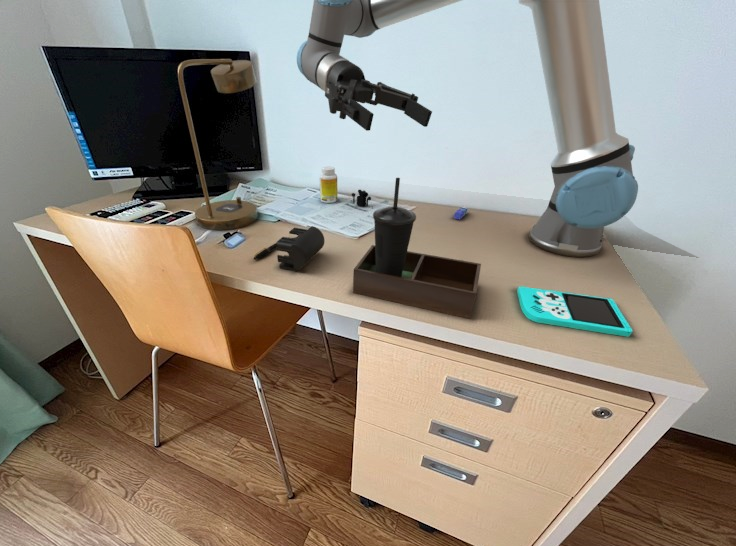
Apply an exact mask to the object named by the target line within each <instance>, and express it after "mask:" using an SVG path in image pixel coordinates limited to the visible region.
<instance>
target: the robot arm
mask: <svg viewBox="0 0 736 546" xmlns="http://www.w3.org/2000/svg"><path fill="white" fill-rule="evenodd" d="M461 1H463V0H313V4H312V10H311V16H310V21H309V22H310V23H309V29H308V36H307V40H305V41H304V42H302V43H301V45H300V47H299V48H298V50H297V52H296V66H297V68H298V71H299V72H300V74H302V76H304V78H305V79H306V80H307V81H309V82H310V83H312V84H314V86H316V87H318V88H319V89H320V90H321V91H323V92H324V97H325V98H326V99H327V101H328V109H329V113H330V114H333V115H336V114H337V112H339V116H338V117H339V119H340V120H346V118H347V117H348V118H350V119H351V121H354V122H355V124H357V125H359V127H361V128H362V129H364V130H365V131H366V132H367V131H368V132H369V131H371V129H372V128H371V127H372V123H373V119H374V113H373V112H372V111H370V110H369V109H367V108H366V107H364V106H363V105H362V104H368V105H372V106H377V105H380V106H381V105H383V106H385V107H389V108H392V109H396V110H399V111H402V112H403V114H404V115H405V116H407V117H408V118H410V119H411V120H413V121H415V122H416V123H418V124H419V125H421V126H423V127H425V128H427V127H428V126H429V123H430V119H431V117H432V113H433V110H430V109H429V108H427V107H426V106H424V105H423V104H420V103H419V102H418V100H419V96H417V95H416V94H415V93H413V92H412V93H408V92H406V91H403V90H400V89H397V88H395V87H391V86H389V85H387V84H385V83H383V82H382V81H378V82H377V83H372V82H370V80H368V79H366V76H365V73H364V72H363V69H362V68H361V67H360V66H359V65H357V64H355V63H353V62H351V61H350V60H349V59H347V58H346V57H344V56H342V55H341V50H342V46H343V42H344V38H345V36H348V37H355V38H359V39H363V38H367V37H370V36H372V35H373V34H375V32H376V31H378V30H381V29H383V28H387V27H389V26H392V25H395V24H397V23H401V22H403V21H404V22H405V21H406V20H410V19H412V18H415V17H418V16H422V15H424V14H426V13H430V12H432V11H436V10H439V9H442V8H445V7H447V6H450V5H453V4H456V3H459V2H461ZM518 4H520V5H522V6H525V7H528V8H529V9H530V10H531V13H532V14H531V15H532V19H533V24H534V25H533V26H534V29H535V35H536V41H537V46H538V51H539V57H540V62H541V68H542V73H543V79H544V85H545V88H546V89H545V90H546V94H547V100H548V106H549V111H550V117H551V122H552V128H553V132H554V138H555V142H556V149H557V153H556V155H554V158H553V159H552V161H551V162H550V167H551V173H552V180H553V184H554V187H553V190H552V193H551V195H550V199H549V201H548V205H547V207H546V209H545V210H544V212H543V213H542V214H541V216H540V217H539V219H538V220H537V222H536V223H535V224H534V225H533V226H532V227H531V229H530V231H529V234H528V239H529V241H530V242H531V244H532V245H534V246H535V247H538V248H539V249H541V250H544V251H547V252H549V253H553V254H556V255H561V256H565V257H573V258H575V257H576V258H586V257H593V256H595V255H597V254H598V253H600V251H601V249H602V247H603V244H604V239H603V238H604V229H605V228H604V227H607V226H609V225H612V224H615V223H616V222H618V221H620V220H621V219H623V217H625V216H626V215H627V214H628V213H629V212H630V211H631V210H632V209H633V206H634V205H635V203H636V201H637V197H638V193H639V183H638V181H637V180H636V177H635V176H634V173H633V166H632V161H633V159H634V154H635V151H636V148H635V146H634V145H633V144H630V140H629V138H628V137H625V136H623V135H621V134H618V133H617V130H616V129H617V128H616V123H615V115H614V106H613V100H612V99H613V97H612V91H611V83H610V76H609V75H610V74H609V67H608V59H607V54H606V53H607V51H606V44H605V43H606V42H605V36H604V28H603V27H604V26H603V21H602V13H601V5H600V0H518ZM373 96H374V97H373ZM373 98H374V99H373Z"/></svg>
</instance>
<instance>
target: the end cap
mask: <svg viewBox="0 0 736 546" xmlns="http://www.w3.org/2000/svg"><path fill="white" fill-rule="evenodd" d="M288 233H289V235H296V237H290V238H287V237H288V236H282V237H281V238H280V239H278V240H277V241H276V242H275V243H276V248H275V249H276V251H278V252H285V253H287V254H288V255H286V254H284V255H282V254H278V255H277V256H276V257H277V262H278V263H279V264H278V265H279V266H278V267H279V268H280V269H282V270H287V271H291V272H298V271H300V270H302V269H303V268H304V267H305V266H306V265H307V264H308V263H309V262H310V261H311V260H312V259H313V258H314V257H315V256H316V255H317V254H318V253H319V252H320V251H321V250H322V249H323V247H324V246H325V236H324V234H323V232H322V231H321V230H320V229H319V228H318V227H316V226H313V225H311V226H309V228H308V229H306V228H301V227H293V228H291V230H289V231H288Z"/></svg>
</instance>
